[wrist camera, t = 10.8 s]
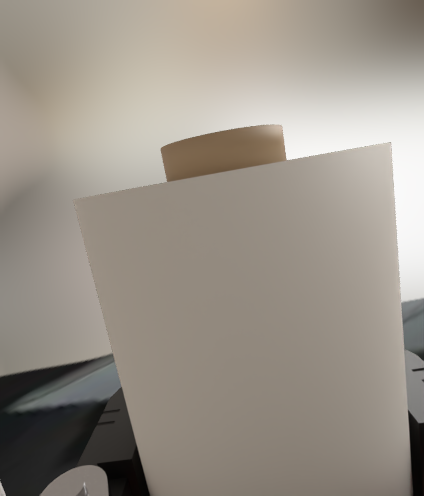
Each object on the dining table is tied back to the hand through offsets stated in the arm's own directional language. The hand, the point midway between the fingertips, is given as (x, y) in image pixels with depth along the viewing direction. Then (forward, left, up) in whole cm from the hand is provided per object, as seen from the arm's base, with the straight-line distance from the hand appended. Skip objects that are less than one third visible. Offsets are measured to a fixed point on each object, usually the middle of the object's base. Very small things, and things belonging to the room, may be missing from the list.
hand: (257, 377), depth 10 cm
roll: (+1, +3, -8) cm, 8 cm away
